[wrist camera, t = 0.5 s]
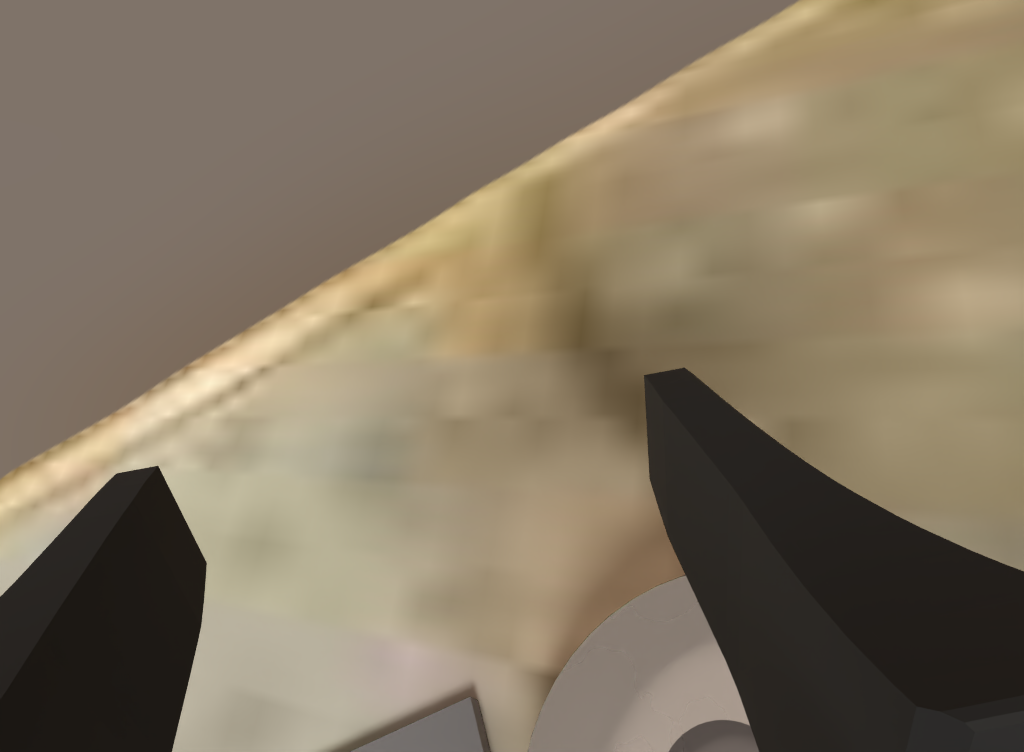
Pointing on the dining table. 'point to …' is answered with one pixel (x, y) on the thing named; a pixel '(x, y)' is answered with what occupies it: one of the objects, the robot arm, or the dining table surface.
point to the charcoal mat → (438, 732)
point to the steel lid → (646, 684)
